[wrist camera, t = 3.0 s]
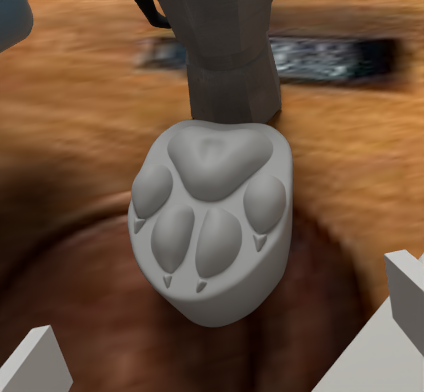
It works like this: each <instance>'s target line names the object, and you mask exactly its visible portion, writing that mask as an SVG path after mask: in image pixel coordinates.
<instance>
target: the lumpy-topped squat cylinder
mask: <svg viewBox="0 0 424 392" xmlns="http://www.w3.org/2000/svg"><path fill="white" fill-rule="evenodd" d="M292 204H293V158H292V152H291V148H290V145H289V143H288V141H287V140H286V139H285V137H284V136H283V135H282V134H281V133H280V132H278V131H277V130H276V129H274V128H273V127H271V126H268V125H265V124H260V123H245V124H217V123H213V122H208V121H203V120H185V121H181V122H179V123H177V124H175V125H173V126H171V127H170V128H169V129H167V130H166V131H164V132H163V133H162V134H161V135H160V136H159V137H158V138H157V139H156V141H155V142H154V143H153V145H152V146H151V148H150V151H149V153H148V155H147V157H146V159H145V162H144V164H143V166H142V168H141V170H140V172H139V173H138V175H137V176H136V178H135V180H134V182H133V185H132V190H131V202H130V205H129V210H128V229H129V236H130V240H131V245H132V249H133V252H134V256H135V259H136V262H137V264H138V266H139V268H140V270H141V272H142V273H143V275H144V276H145V278H146V279H147V280H148V282H149V283H150V284H151V285H152V286H153V287H154V288H155V290H156V291H158V292H159V293H160V294H161V295H162V296H163V297H164V298H165V299H166V300H167V301H168V302H169V303H171V304H172V305H173V306H174V307H175V308H176V309H177V310H179V311H180V312H181V313H182V314H183V315H184V316H186V317H187V318H188V319H189V320H191V321H192V322H194V323H196V324H198V325H201V326H206V327H221V326H225V325H228V324H231V323H233V322H236V321H238V320H240V319H241V318H243V317H245V316H247V315H248V314H250V313H251V312H253V311H254V310H255V309H256V308H257V307H258V306H259V305H260V304H261V303H262V302H263V301H264V300H265V299H266V298H267V297H268V295H269V294H270V293H271V292H272V291H273V289H274V288H275V287H276V285H277V284H278V283H279V281H280V280H281V278H282V277H283V274H284V272H285V268H286V265H287V260H288V255H289V250H290V244H291V236H292Z"/></svg>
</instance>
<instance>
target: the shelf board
mask: <svg viewBox="0 0 424 392" xmlns="http://www.w3.org/2000/svg"><path fill="white" fill-rule="evenodd" d="M418 261H420V262H421V263H422V264H423V265H424V253H423V254H422V256H421V257H420V258H419V259H418ZM312 392H424V357H423V356H422V354H421V353H420V352H419V351H418V349H417V348H416V347H415V346H414V344H413V343H412V342H411V341H410V339H409V338H408V337H407V335H406V334H405V333H404V332H403V330H402V329H401V328H400V327H399V325H398V324H397V323H396V322H395V320H394V319H393V316H392V309H391V302H390V295H389V296H388V298H387V299H386V300H385V301H384V303H383V304H382V305H381V306H380V308H379V309H378V310H377V311H376V312H375V314H374V315H373V316H372V317H371V319H370V320H369V321H368V322H367V324H366V325H365V326H364V327H363V329H362V330H361V331H360V332H359V333H358V335H357V336H356V337H355V338H354V340H353V341H352V342H351V343H350V345H349V346H348V347H347V348H346V350H345V351H344V352H343V353H342V354H341V356H340V357H339V358H338V359H337V361H336V362H335V363H334V364H333V366H332V367H331V368H330V369H329V371H328V372H327V373H326V374H325V375H324V377H323V378H322V379H321V380H320V382H319V383H318V384H317V385H316V387H315V388H314V389H313V390H312Z"/></svg>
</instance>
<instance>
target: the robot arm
mask: <svg viewBox="0 0 424 392" xmlns="http://www.w3.org/2000/svg"><path fill="white" fill-rule="evenodd" d="M32 26H33V13H32V10H31V8H30V5H29V3H28V0H0V53H1V52H3V51H4V50H6V49H8V48H10V47H11V46H13V45H15V44H17V43H18V42H20V41H22V40H24V39H25V38H26V37H27V36H28V35H29V34H30V32H31V29H32ZM384 258H385V265H386V272H387V280H388V287H389V294H390V302H391V309H392V316H393V319H394V320H395V322H396V323H397V324H398V325H399V327H400V328H401V329H402V330H403V332H404V333H405V334H406V335H407V337H408V338H409V339H410V341H411V342H412V343H413V344H414V346H415V347H416V348H417V349H418V351H419V352H420V353H421V354H422V356H423V357H424V265H423V264H422V263H421V262H420V261H418V260H417V259H416V258H415V257H413V256H412V255H411V254H410V253H409V252H407V251H406V250H401V251H396V252H391V253H386V254H384ZM72 383H73V380H72V378H71V375H70V373H69V370H68V368H67V365H66V363H65V360H64V358H63V355H62V353H61V350H60V348H59V345H58V343H57V340H56V338H55V335H54V333H53V330H52V328H51V325H48V326H43V327H38V328H33V329H32V330H31V331H30V332H29V333H28V335H27V336H26V337H25V338H24V340H23V341H22V342H21V343H20V345H19V346H18V347H17V348H16V350H15V351H14V352H13V353H12V355H11V356H10V357H9V358H8V360H7V361H6V362H5V363H4V365H3V366H2V367H1V368H0V392H68V391H69V389H70V387H71V385H72Z"/></svg>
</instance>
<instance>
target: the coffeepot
mask: <svg viewBox="0 0 424 392" xmlns="http://www.w3.org/2000/svg"><path fill="white" fill-rule="evenodd" d="M272 1H273V0H158V2H159V4H160V6H161V8H162V10H163V12H164V14H165V16H166V17H164V16H162V15H161V14H160V13H159V12H158V11H157V9H156V7H155V4H154V1H153V0H135V2H136V3H137V5H138V6H139V8H140V9H141V11H142V12H143V13H144V15H145V16H146V18H147V19H148V21H149V22H150V24H151V25H152V26H155V27H159V28H166V29H171V28H172V30H173V32H174V34H175V36H176V38H177V40H178V42H179V43H181V44H182V45H183V46H185V47H186V50H187V54H186V65H187V76H188V86H189V96H190V106H191V116H192V117H193V118H194V119H196V120H203V121H208V122H213V123H217V124H245V123H260V124H266V123H267V122H268V121H269V120H270V119H271V118H272V117H273V116H274V114H275V113H276V112H277V111H278V110H279V109H280V108H281V96H280V81H279V77H278V73H277V69H276V65H275V61H274V57H273V53H272V49H271V45H270V41H269V37H268V34H267V31H268V30H269V21H270V12H271V3H272Z"/></svg>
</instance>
